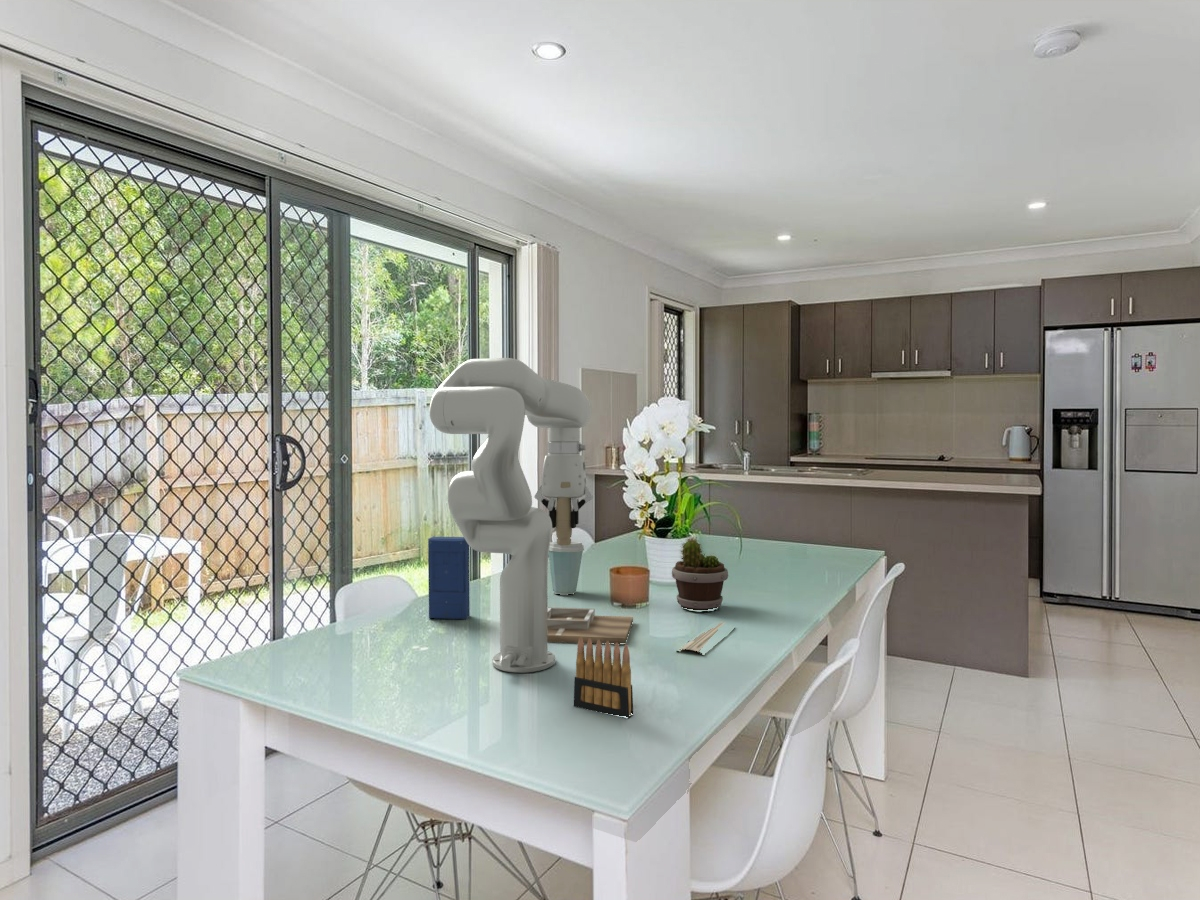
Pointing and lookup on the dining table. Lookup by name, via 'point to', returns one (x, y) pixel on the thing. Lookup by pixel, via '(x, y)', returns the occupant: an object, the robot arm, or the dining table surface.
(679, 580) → the flowerpot
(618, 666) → the ammunition clip
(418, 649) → the dining table surface
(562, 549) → the disposable coffee cup
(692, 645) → the beige flat strip
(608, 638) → the board
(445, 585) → the electronic device
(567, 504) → the handle
